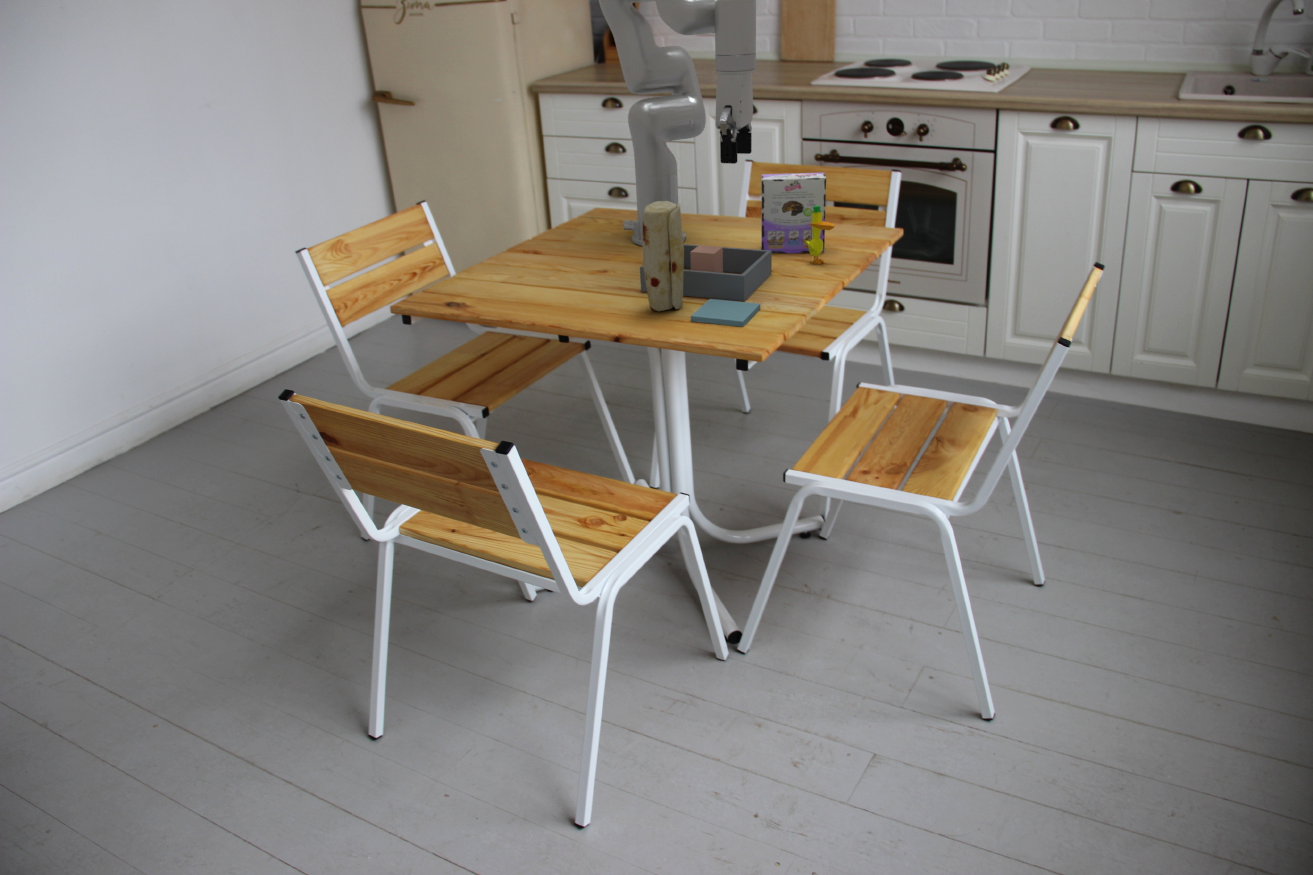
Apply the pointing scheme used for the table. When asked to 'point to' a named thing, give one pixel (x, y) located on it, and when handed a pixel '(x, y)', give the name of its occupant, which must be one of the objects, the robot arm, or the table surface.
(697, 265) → the block
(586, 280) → the table surface
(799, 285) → the table surface
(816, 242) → the toy figure
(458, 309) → the table surface
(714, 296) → the crate
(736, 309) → the pad
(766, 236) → the candy box
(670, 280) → the food model
